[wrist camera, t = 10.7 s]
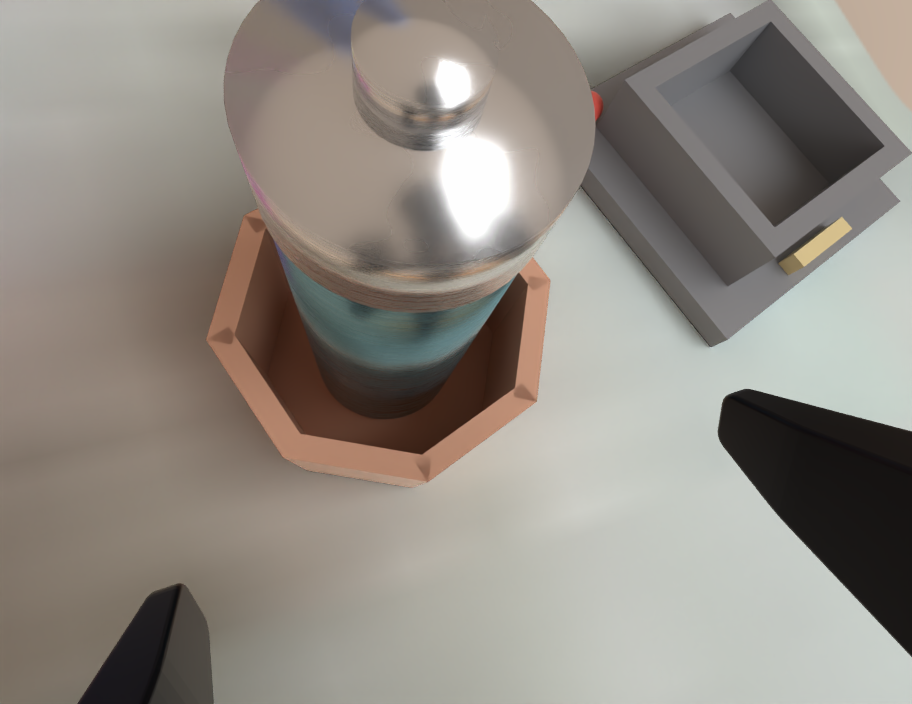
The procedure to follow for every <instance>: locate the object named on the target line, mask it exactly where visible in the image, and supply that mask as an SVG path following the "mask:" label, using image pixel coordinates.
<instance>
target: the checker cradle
mask: <svg viewBox="0 0 912 704" xmlns="http://www.w3.org/2000/svg"><path fill="white" fill-rule="evenodd" d="M591 93H592V98H593V103H594V110H595V124H596V127H595V139H594V147H593V152H592V156H591V160H590V164H589V167H588V169H587V172H586V174H585V176H584V179H583V181H582V183H581V186H582V188H583V189H584V190H585V191H586V193H587V194H588V195H589V196H590V197H591V199H592V200H593V201H594V202H595V204H596V205H597V206H598V207H599V209H600V210H601V211H602V212H603V214H604V215H605V216H606V217H607V219H608V220H609V221H610V222H611V224H612V225H613V226H614V227H615V229H616V230H617V231H618V232H619V234H620V235H621V236H622V237H623V238H624V240H625V241H626V242H627V243H628V245H629V246H630V247H631V248H632V250H633V251H634V252H635V253H636V255H637V256H638V257H639V258H640V260H641V261H642V262H643V263H644V265H645V266H646V267H647V268H648V270H649V271H650V272H651V273H652V275H653V276H654V277H655V278H656V279H657V281H658V282H659V283H660V284H661V286H662V287H663V288H664V289H665V291H666V292H667V293H668V294H669V296H670V297H671V298H672V299H673V301H674V302H675V303H676V304H677V306H678V307H679V308H680V309H681V311H682V312H683V313H684V314H685V316H686V317H687V318H688V319H689V320H690V322H691V323H692V324H693V325H694V327H695V328H696V329H697V330H698V332H699V333H700V334H701V335H702V337H703V338H704V339H705V340H706V342H707V343H708V344H709V345H710V347H713V346H715V345H717V344H719V343H721V342H723V341H726V340H728V339H729V338H730V337H731V336H733V335H734V334H735V333H736V332H738V331H739V330H740V329H741V328H743V327H744V326H745V325H746V324H748V323H749V322H750V321H751V320H753V319H754V318H755V317H756V316H758V315H759V314H760V313H761V312H763V311H764V310H765V309H766V308H768V307H769V306H770V305H771V304H773V303H774V302H775V301H776V300H778V299H779V298H780V297H781V296H783V295H784V294H785V293H786V292H788V291H789V290H790V289H791V288H793V287H794V286H795V285H796V284H798V283H799V282H800V281H801V280H803V279H804V278H805V277H806V276H808V275H809V274H810V273H811V272H813V271H814V270H815V269H816V268H818V267H819V266H820V265H821V264H823V263H824V262H825V261H826V260H828V259H829V258H830V257H831V256H833V255H834V254H835V253H836V252H838V251H839V250H840V249H841V248H843V247H844V246H845V245H846V244H848V243H849V242H850V241H851V240H853V239H854V238H855V237H856V236H858V235H859V234H860V233H861V232H863V231H864V230H865V229H866V228H868V227H869V226H870V225H871V224H873V223H874V222H875V221H876V220H878V219H879V218H880V217H881V216H883V215H884V214H885V213H886V212H888V211H889V210H890V209H891V208H893V207H894V206H895V205H896V204H898V203H899V202H900V200H899V199H898V198H897V197H896V196H895V195H894V194H893V193H892V192H891V190H890V189H889V188H888V187H887V186H886V185H885V184H884V183H883V182H882V180H881V179H880V177H882V176H883V175H884V174H886V173H887V172H888V171H889V170H891V169H892V168H893V167H895V166H896V165H897V164H899V163H900V162H901V161H903V160H904V159H905V158H906V157H908V156H909V155H910V154H912V152H911V151H910V150H909V149H908V148H907V147H906V146H905V145H904V144H903V143H902V142H901V140H900V139H899V138H898V137H897V136H896V135H895V134H894V133H893V132H892V131H891V130H890V128H889V127H888V126H887V125H886V124H885V123H884V122H883V121H882V120H881V119H880V118H879V117H878V115H877V114H876V113H875V112H874V111H873V110H872V109H871V108H870V107H869V106H868V105H867V104H866V102H865V101H864V100H863V99H862V98H861V97H860V96H859V95H858V94H857V93H856V92H855V90H854V89H853V88H852V87H851V86H850V85H849V84H848V83H847V82H846V81H845V80H844V79H843V77H842V76H841V75H840V74H839V73H838V72H837V71H836V70H835V69H834V68H833V67H832V66H831V64H830V63H829V62H828V61H827V60H826V59H825V58H824V57H823V56H822V55H821V54H820V52H819V51H818V50H817V49H816V48H815V47H814V46H813V45H812V44H811V43H810V42H809V41H808V39H807V38H806V37H805V36H804V35H803V34H802V33H801V32H800V31H799V30H798V29H797V28H796V26H795V25H794V24H793V23H792V22H791V21H790V20H789V19H788V18H787V17H786V16H785V14H784V13H783V12H782V11H781V10H780V9H779V8H778V7H777V6H776V5H775V4H774V3H773V1H772V0H768V1H766V2H764V3H762V4H761V5H759V6H757V7H755V8H753V9H752V10H750V11H748V12H746V13H744V14H743V15H741V16H739V17H737V18H734V17H733V15H732V14H731V13H729V14H727V15H725V16H724V17H722V18H720V19H718V20H716V21H714V22H713V23H711V24H709V25H707V26H705V27H703V28H702V29H700V30H698V31H696V32H694V33H692V34H691V35H689V36H687V37H685V38H683V39H682V40H680V41H678V42H676V43H674V44H672V45H671V46H669V47H667V48H665V49H663V50H661V51H660V52H658V53H656V54H654V55H652V56H651V57H649V58H647V59H645V60H643V61H641V62H640V63H638V64H636V65H634V66H632V67H630V68H629V69H627V70H625V71H623V72H621V73H619V74H618V75H616V76H614V77H612V78H610V79H609V80H607V81H605V82H603V83H601V84H599V85H598V86H596V87H594V88H592V89H591Z"/></svg>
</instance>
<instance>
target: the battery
mask: <svg viewBox="0 0 912 704" xmlns="http://www.w3.org/2000/svg"><path fill="white" fill-rule="evenodd" d="M224 104H225V110H226V115H227V121H228V125H229V128H230V131H231V134H232V137H233V140H234V143H235V146H236V148H237V151H238V154H239V157H240V159H241V162H242V165H243V168H244V170H245V173H246V176H247V179H248V181H249V184H250V187H251V190H252V192H253V195H254V198H255V201H256V203H257V206H258V209H259V212H260V214H261V217H262V219H263V221H264V223H265V225H266V227H267V229H268V231H269V233H270V235H271V236H272V238H273V240H274V243H275V246H276V249H277V251H278V254H279V257H280V260H281V263H282V266H283V269H284V271H285V274H286V277H287V280H288V283H289V286H290V289H291V291H292V294H293V297H294V300H295V303H296V306H297V309H298V311H299V314H300V317H301V320H302V323H303V326H304V329H305V331H306V334H307V337H308V340H309V343H310V346H311V349H312V351H313V354H314V357H315V360H316V363H317V366H318V369H319V371H320V374H321V377H322V380H323V382H324V384H325V386H326V387H327V389H328V390H329V392H330V393H331V395H332V396H333V397H334V398H335V399H336V400H337V401H338V402H339V403H341V404H342V405H343V406H344V407H346V408H347V409H349V410H351V411H352V412H355V413H357V414H359V415H362V416H365V417H368V418H374V419H396V418H400V417H404V416H407V415H410V414H412V413H414V412H416V411H418V410H420V409H422V408H423V407H424V406H426V405H427V404H428V403H429V402H430V401H432V400H433V399H434V398H435V396H436V395H437V394H438V393H439V391H440V390H441V388H442V387H443V385H444V384H445V382H446V381H447V379H448V378H449V376H450V375H451V373H452V372H453V370H454V369H455V367H456V366H457V364H458V363H459V361H460V360H461V358H462V357H463V355H464V354H465V352H466V351H467V349H468V348H469V346H470V345H471V343H472V342H473V340H474V339H475V337H476V336H477V334H478V333H479V331H480V330H481V328H482V327H483V325H484V324H485V322H486V321H487V319H488V318H489V316H490V314H491V313H492V311H493V310H494V308H495V307H496V305H497V304H498V302H499V301H500V299H501V298H502V296H503V295H504V293H505V292H506V290H507V289H508V287H509V286H510V284H511V283H512V281H513V280H514V278H515V277H516V275H517V274H518V273H519V272H520V271H521V270H522V269H523V268H524V267H525V266H526V264H527V263H528V262H529V261H530V260H531V258H532V257H533V256H534V254H535V253H536V251H537V250H538V248H539V247H540V245H541V244H542V243H543V241H544V240H545V238H546V237H547V235H548V234H549V232H550V231H551V229H552V228H553V226H554V225H555V223H556V222H557V220H558V219H559V218H560V216H561V215H562V213H563V212H564V210H565V209H566V207H567V206H568V204H569V203H570V201H571V200H572V198H573V197H574V195H575V193H576V192H577V190H578V188H579V187H580V185H581V183H582V181H583V179H584V176H585V174H586V172H587V169H588V167H589V164H590V160H591V156H592V152H593V147H594V139H595V127H596V124H595V110H594V103H593V98H592V93H591V89H590V85H589V82H588V80H587V77H586V74H585V71H584V69H583V67H582V65H581V63H580V61H579V59H578V57H577V55H576V53H575V51H574V49H573V48H572V46H571V45H570V43H569V42H568V40H567V39H566V37H565V36H564V34H563V33H562V32H561V31H560V29H559V28H558V27H557V26H556V25H555V24H554V22H553V21H552V20H551V19H550V18H549V17H548V16H547V15H546V14H545V13H544V12H543V11H542V10H541V9H540V8H539V7H538V6H537V5H536V4H535V3H534V2H532V1H531V0H260V1H259V2H258V3H257V4H256V5H255V6H254V7H253V9H252V10H251V11H250V13H249V14H248V15H247V17H246V18H245V19H244V21H243V22H242V24H241V26H240V28H239V30H238V32H237V34H236V36H235V38H234V40H233V43H232V46H231V49H230V52H229V55H228V58H227V63H226V69H225V76H224Z"/></svg>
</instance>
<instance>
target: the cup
mask: <svg viewBox="0 0 912 704" xmlns="http://www.w3.org/2000/svg"><path fill="white" fill-rule="evenodd" d="M549 288H550V279H549V278H548V277H547V275H546V274H545V273H544V271H543V270H542V269H541V267H540V266H539V265H538V264H537V262H536V261H535V260H534V258H533V257H532V258H531V260H530V261H529V262H528V263H527V264H526V266H525V267H524V268H523V269H522V270H521V271H520V272H519V273H518V274H517V275H516V277H515V278H514V280H513V281H512V283H511V284H510V286H509V287H508V289H507V290H506V292H505V293H504V295H503V296H502V298H501V299H500V301H499V302H498V304H497V305H496V307H495V308H494V310H493V311H492V313H491V314H490V316H489V318H488V319H487V321H486V322H485V324H484V325H483V327H482V328H481V330H480V331H479V333H478V334H477V336H476V337H475V339H474V340H473V342H472V343H471V345H470V346H469V348H468V349H467V351H466V352H465V354H464V355H463V357H462V358H461V360H460V361H459V363H458V364H457V366H456V367H455V369H454V370H453V372H452V373H451V375H450V376H449V378H448V379H447V381H446V382H445V384H444V385H443V387H442V388H441V390H440V391H439V393H438V394H437V395H436V396H435V398H434V399H433V400H432V401H430V402H429V403H428V404H427V405H426V406H424V407H423V408H422V409H420V410H418V411H416V412H414V413H412V414H410V415H407V416H404V417H400V418H396V419H374V418H368V417H365V416H362V415H359V414H357V413H355V412H352V411H351V410H349V409H347V408H346V407H344V406H343V405H342V404H341V403H339V402H338V401H337V400H336V399H335V398H334V397H333V396H332V395H331V393H330V392H329V390H328V389H327V387H326V386H325V384H324V382H323V380H322V377H321V374H320V371H319V369H318V366H317V363H316V360H315V357H314V354H313V351H312V349H311V346H310V343H309V340H308V337H307V334H306V331H305V329H304V326H303V323H302V320H301V317H300V314H299V311H298V309H297V306H296V303H295V300H294V297H293V294H292V291H291V289H290V286H289V283H288V280H287V277H286V274H285V271H284V269H283V266H282V263H281V260H280V257H279V254H278V251H277V249H276V246H275V243H274V240H273V238H272V236H271V235H270V233H269V231H268V229H267V227H266V225H265V223H264V221H263V219H262V217H261V214H260V212H259V209H256V210H254V211H252V212H250V213H248V214H246V215H244V217H243V220H242V224H241V227H240V230H239V233H238V237H237V240H236V243H235V246H234V250H233V253H232V256H231V260H230V263H229V266H228V269H227V273H226V276H225V279H224V282H223V286H222V289H221V292H220V296H219V299H218V302H217V305H216V309H215V312H214V315H213V319H212V322H211V325H210V328H209V332H208V335H207V338H206V340H207V342H208V343H209V345H210V347H211V348H212V350H213V351H214V353H215V354H216V356H217V357H218V359H219V360H220V362H221V363H222V365H223V366H224V368H225V370H226V371H227V373H228V374H229V376H230V377H231V379H232V380H233V382H234V383H235V385H236V386H237V388H238V389H239V391H240V392H241V394H242V396H243V397H244V399H245V400H246V402H247V403H248V405H249V406H250V408H251V409H252V411H253V412H254V414H255V415H256V417H257V419H258V420H259V422H260V423H261V425H262V426H263V428H264V429H265V431H266V432H267V434H268V435H269V437H270V438H271V440H272V442H273V443H274V445H275V446H276V448H277V449H278V451H279V452H280V454H281V455H282V457H283V458H285V459H286V460H288V461H290V462H292V463H294V464H296V465H298V466H300V467H301V468H303V469H305V470H308V471H314V472H320V473H326V474H332V475H338V476H344V477H350V478H356V479H362V480H368V481H374V482H380V483H386V484H392V485H398V486H404V487H410V488H413V487H416V486H419V485H421V484H424V483H427V482H429V481H430V480H431V479H433V478H434V477H435V476H437V475H438V474H439V473H441V472H442V471H443V470H445V469H446V468H448V467H449V466H450V465H452V464H453V463H454V462H456V461H457V460H458V459H460V458H461V457H462V456H464V455H465V454H466V453H468V452H469V451H471V450H472V449H473V448H475V447H476V446H477V445H479V444H480V443H481V442H483V441H484V440H485V439H487V438H488V437H489V436H491V435H492V434H494V433H495V432H496V431H498V430H499V429H500V428H502V427H503V426H504V425H506V424H507V423H508V422H510V421H511V420H512V419H514V418H515V417H517V416H518V415H519V414H521V413H522V412H523V411H525V410H526V409H527V408H529V407H530V406H531V405H533V404H534V403H535V402H537V395H538V386H539V377H540V368H541V359H542V350H543V342H544V333H545V324H546V315H547V306H548V297H549Z"/></svg>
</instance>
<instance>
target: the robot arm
mask: <svg viewBox="0 0 912 704" xmlns="http://www.w3.org/2000/svg"><path fill="white" fill-rule="evenodd" d="M718 437H719V440H720V442H721V444H722V445H723V447H724V448H725V449H726V451H727V452H728V453H729V454H730V456H731V457H732V458H733V460H734V461H735V462H736V463H737V465H738V466H739V467H740V468H741V470H742V471H743V472H744V474H745V475H746V476H747V477H748V479H749V480H750V481H751V482H752V484H753V485H754V486H755V487H756V489H757V490H758V491H759V493H760V494H761V495H762V496H763V498H764V499H765V500H766V501H767V503H768V504H769V505H770V506H771V508H772V509H773V510H774V511H775V512H776V514H777V515H778V516H779V517H780V518H781V519H782V520H783V521H784V523H785V524H786V525H787V526H788V527H789V528H790V529H791V530H792V531H793V532H794V533H795V534H796V535H797V536H798V537H799V539H800V540H801V541H802V542H803V543H804V544H805V545H806V546H807V547H808V548H809V549H810V550H811V551H812V552H813V553H814V554H815V555H816V556H817V558H818V559H819V560H820V561H821V562H822V563H823V564H824V565H825V566H826V567H827V568H828V569H829V570H830V571H831V572H832V573H833V574H834V575H835V577H836V578H837V579H838V580H839V581H840V582H841V583H842V584H843V585H844V586H845V587H846V588H847V589H848V590H849V591H850V592H851V593H852V594H853V596H854V597H855V598H856V599H857V600H858V601H859V602H860V603H861V604H862V605H863V606H864V607H865V608H866V609H867V610H868V611H869V612H870V613H871V615H872V616H873V617H874V618H875V619H876V620H877V621H878V622H879V623H880V624H881V625H882V626H883V627H884V628H885V629H886V630H887V631H888V632H889V634H890V635H891V636H892V637H893V638H894V639H895V640H896V641H897V642H898V643H899V644H900V645H901V646H902V647H903V648H904V649H905V650H906V651H907V653H908V654H909V655H910V656H911V657H912V431H908V430H904V429H900V428H896V427H893V426H889V425H885V424H881V423H877V422H874V421H870V420H866V419H862V418H858V417H854V416H851V415H847V414H843V413H839V412H835V411H832V410H828V409H824V408H820V407H816V406H813V405H809V404H805V403H801V402H797V401H793V400H790V399H786V398H782V397H778V396H774V395H771V394H767V393H763V392H759V391H755V390H751V389H743V390H740V391H737V392H734V393H731V394H729V395H727V396H726V397H725V398H724V399H723V402H722V407H721V413H720V420H719V426H718ZM78 704H214V700H213V685H212V670H211V655H210V640H209V630H208V625H207V621H206V619H205V616H204V615H203V613H202V611H201V610H200V608H199V606H198V604H197V603H196V601H195V599H194V598H193V596H192V594H191V593H190V591H189V589H188V588H187V587H186V586H185V585H184V584H182V583H177V584H174V585H172V586H169V587H166V588H163V589H160V590H157V591H154V592H153V593H151V594H150V595H149V596H148V597H147V598H146V600H145V601H144V603H143V604H142V606H141V607H140V609H139V610H138V612H137V613H136V615H135V617H134V618H133V620H132V621H131V623H130V624H129V626H128V627H127V629H126V630H125V632H124V633H123V635H122V636H121V638H120V639H119V641H118V642H117V644H116V646H115V647H114V649H113V650H112V652H111V653H110V655H109V656H108V658H107V659H106V661H105V662H104V664H103V665H102V667H101V668H100V670H99V671H98V673H97V675H96V676H95V678H94V679H93V681H92V682H91V684H90V685H89V687H88V688H87V690H86V691H85V693H84V694H83V696H82V697H81V699H80V700H79V702H78Z"/></svg>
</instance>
